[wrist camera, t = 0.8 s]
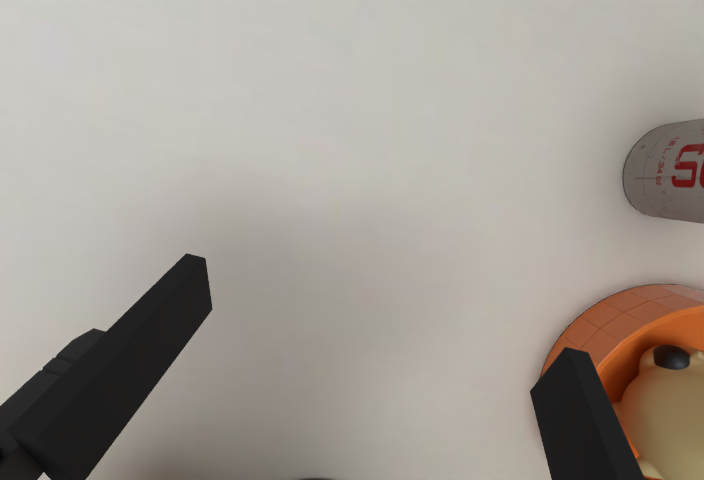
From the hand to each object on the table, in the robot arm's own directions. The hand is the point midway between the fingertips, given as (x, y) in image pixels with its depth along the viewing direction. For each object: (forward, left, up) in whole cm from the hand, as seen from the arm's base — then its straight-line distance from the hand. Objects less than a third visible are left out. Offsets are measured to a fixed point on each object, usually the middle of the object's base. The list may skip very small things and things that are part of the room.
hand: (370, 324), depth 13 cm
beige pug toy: (-8, -31, -17) cm, 37 cm away
